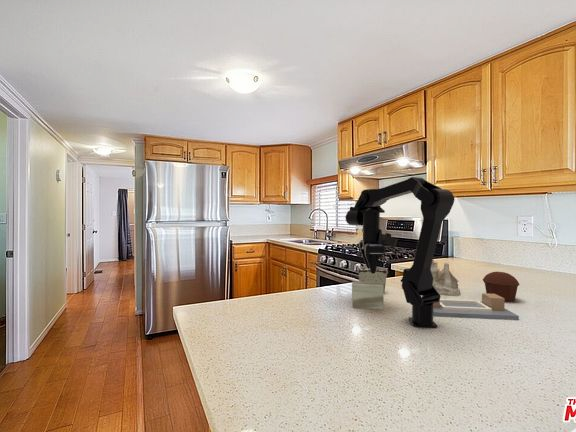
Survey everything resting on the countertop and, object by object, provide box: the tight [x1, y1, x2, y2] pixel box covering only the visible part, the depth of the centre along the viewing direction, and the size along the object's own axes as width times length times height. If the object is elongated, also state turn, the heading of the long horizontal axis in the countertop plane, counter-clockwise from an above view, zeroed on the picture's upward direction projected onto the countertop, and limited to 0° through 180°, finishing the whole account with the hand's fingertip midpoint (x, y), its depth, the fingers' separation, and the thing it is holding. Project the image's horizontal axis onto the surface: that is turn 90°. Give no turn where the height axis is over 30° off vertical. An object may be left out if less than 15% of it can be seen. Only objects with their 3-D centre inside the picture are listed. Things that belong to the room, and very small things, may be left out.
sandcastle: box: [431, 259, 461, 297], centre depth 132 cm, size 16×16×15 cm
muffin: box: [482, 271, 520, 303], centre depth 119 cm, size 12×11×10 cm
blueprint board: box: [421, 292, 520, 321], centre depth 105 cm, size 15×27×5 cm, turn 83°
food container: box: [356, 265, 389, 294], centre depth 129 cm, size 12×6×10 cm, turn 84°
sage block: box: [351, 281, 385, 310], centre depth 109 cm, size 5×10×8 cm, turn 83°
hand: (371, 270), depth 110 cm, fingers open, 9 cm apart
